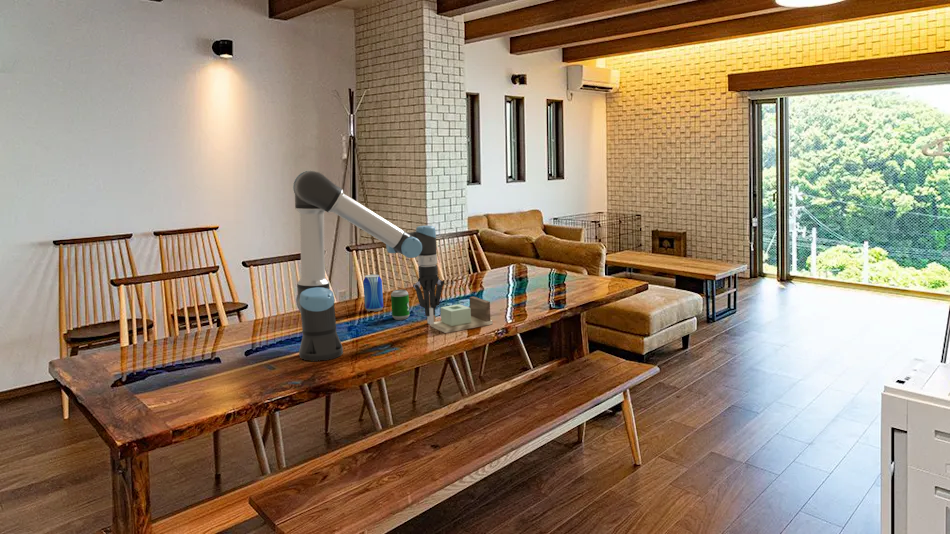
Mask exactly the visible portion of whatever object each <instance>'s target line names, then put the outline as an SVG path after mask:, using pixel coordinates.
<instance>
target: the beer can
mask: <svg viewBox="0 0 950 534" xmlns="http://www.w3.org/2000/svg"><path fill="white" fill-rule="evenodd" d="M362 283H363V298H364V299H363V301H364V309H366V311H367V312H370V311H374V312H379V311H382V310H383V308H384V296H383V284H382V283H383V280H382V278H381V277H380V274H367V275H365V276H364V278H363V281H362Z"/></svg>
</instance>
